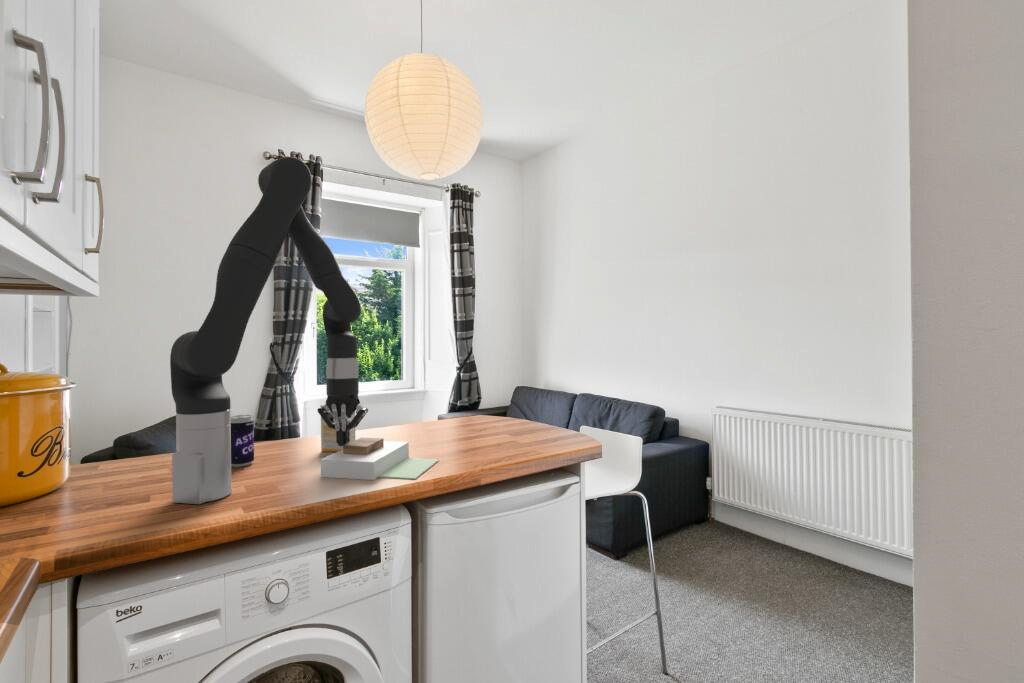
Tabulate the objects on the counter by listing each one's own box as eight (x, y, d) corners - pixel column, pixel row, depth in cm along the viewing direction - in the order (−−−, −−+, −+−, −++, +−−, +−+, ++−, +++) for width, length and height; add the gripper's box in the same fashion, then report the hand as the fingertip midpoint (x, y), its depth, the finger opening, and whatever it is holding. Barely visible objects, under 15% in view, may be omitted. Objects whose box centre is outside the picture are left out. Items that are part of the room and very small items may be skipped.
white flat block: (373, 480, 108) (373, 462, 107) (320, 476, 110) (320, 459, 110) (408, 457, 127) (408, 442, 127) (363, 454, 130) (363, 440, 129)
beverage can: (234, 468, 116) (233, 419, 116) (224, 465, 120) (223, 417, 120) (258, 463, 121) (257, 416, 121) (247, 460, 124) (247, 413, 124)
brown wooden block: (366, 455, 114) (366, 446, 114) (343, 453, 115) (343, 445, 115) (383, 446, 123) (383, 438, 122) (361, 445, 124) (361, 437, 124)
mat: (415, 479, 108) (415, 478, 108) (377, 477, 109) (377, 476, 109) (438, 460, 124) (438, 459, 124) (405, 459, 125) (405, 457, 125)
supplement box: (356, 448, 137) (356, 402, 137) (349, 452, 132) (348, 405, 132) (328, 447, 138) (328, 402, 138) (320, 451, 133) (319, 404, 133)
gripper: (309, 377, 117) (310, 448, 117) (360, 377, 115) (360, 450, 115) (326, 374, 124) (327, 441, 125) (374, 374, 122) (374, 443, 122)
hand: (343, 445), depth 120 cm, fingers closed
